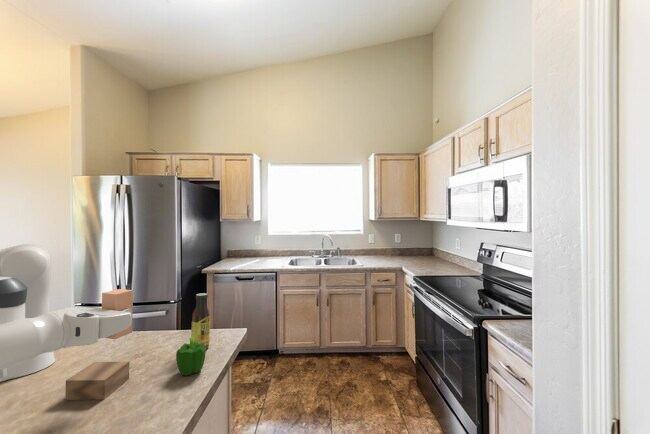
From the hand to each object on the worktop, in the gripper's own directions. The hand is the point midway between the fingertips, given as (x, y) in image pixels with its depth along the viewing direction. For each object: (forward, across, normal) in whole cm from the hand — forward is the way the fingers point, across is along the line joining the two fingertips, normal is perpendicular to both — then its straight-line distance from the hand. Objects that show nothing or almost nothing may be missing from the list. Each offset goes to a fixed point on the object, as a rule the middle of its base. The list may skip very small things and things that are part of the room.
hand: (120, 310), depth 81 cm
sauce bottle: (+27, +5, -22) cm, 35 cm away
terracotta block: (-1, 0, -7) cm, 7 cm away
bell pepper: (+13, +13, -22) cm, 29 cm away
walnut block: (-2, -5, -22) cm, 22 cm away
